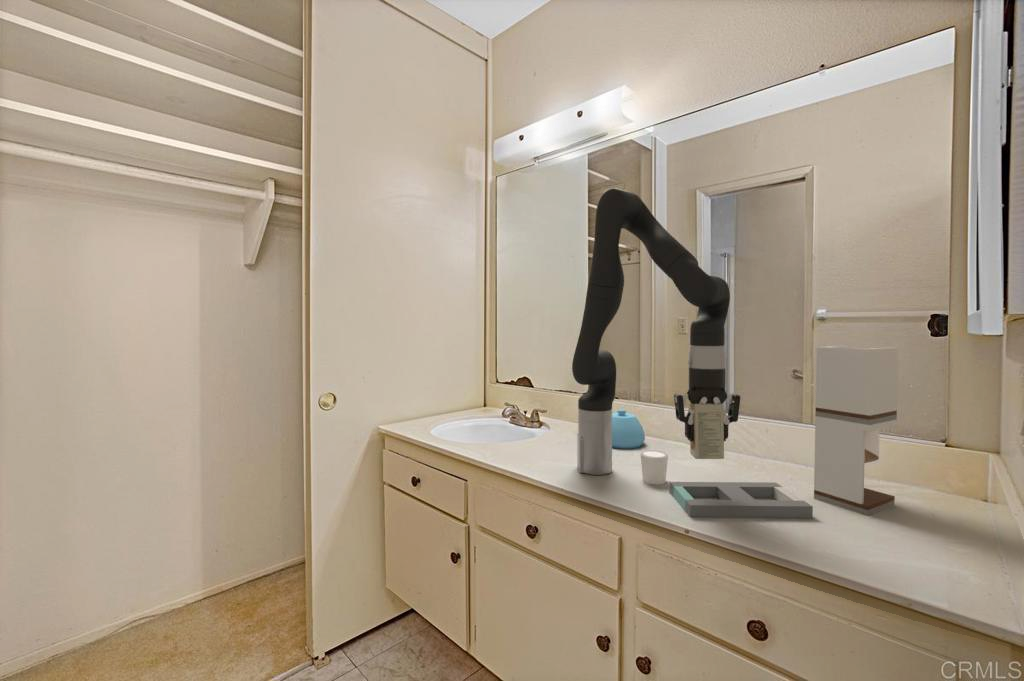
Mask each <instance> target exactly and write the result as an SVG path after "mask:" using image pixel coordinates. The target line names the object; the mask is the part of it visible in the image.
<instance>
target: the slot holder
mask: <svg viewBox="0 0 1024 681" xmlns="http://www.w3.org/2000/svg"><path fill="white" fill-rule="evenodd" d="M668 487H669V491H668V492H669V493H670V495H671V496H672V497H673V498H674V499H675V501H676V500H677V501H676V502H677V503H678V505H679V506H680V507H681V506H682V507H681V508H682V509H683V510H684V511H685V513H686V514H687V515H688V516H689V517H690V518H743V519H744V518H746V519H747V518H750V519H752V518H753V519H755V518H756V519H757V518H759V519H769V518H770V519H813V514H814V513H813V512H814V510H813V509H814V506H813V505H811V504H810V503H808V502H807V501H805V500H803V498H800V497H799V496H797V495H796V494H794V493H793V492H791V491H790V490H788V489H787V488H786V487H783V486H782V485H780V484H779V483H778V482H764V481H763V482H761V481H760V482H757V481H756V482H754V481H753V482H748V481H747V482H746V481H745V482H741V481H735V482H734V481H726V482H725V481H722V482H721V481H669V486H668ZM694 498H718V499H694ZM755 498H760V499H758V500H757V499H755ZM761 498H762V500H761ZM763 498H764V499H767V498H773V499H775V500H773V499H770V500H769V499H767V500H763Z"/></svg>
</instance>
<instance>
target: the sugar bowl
mask: <svg viewBox="0 0 1024 681" xmlns="http://www.w3.org/2000/svg"><path fill="white" fill-rule="evenodd" d="M616 411H617V412H612V448H615V449H623V450H625V449H636V448H639V447H641V445H643V444H644V442H645V440H646V437H645V436H646V435H645V431H644V428H643V425H642V424H641V422H640V421H639V419H638V418H637V415H635V414H633V413H629V412H627V409H622V408H620V409H617V410H616Z"/></svg>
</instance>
